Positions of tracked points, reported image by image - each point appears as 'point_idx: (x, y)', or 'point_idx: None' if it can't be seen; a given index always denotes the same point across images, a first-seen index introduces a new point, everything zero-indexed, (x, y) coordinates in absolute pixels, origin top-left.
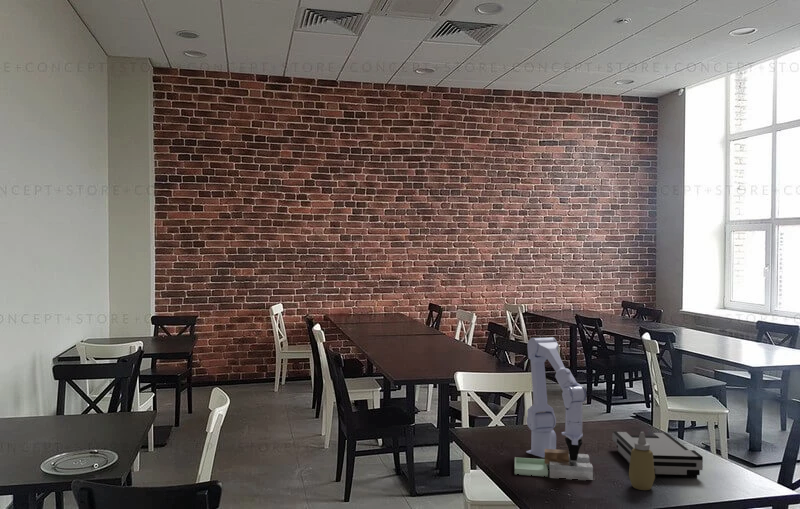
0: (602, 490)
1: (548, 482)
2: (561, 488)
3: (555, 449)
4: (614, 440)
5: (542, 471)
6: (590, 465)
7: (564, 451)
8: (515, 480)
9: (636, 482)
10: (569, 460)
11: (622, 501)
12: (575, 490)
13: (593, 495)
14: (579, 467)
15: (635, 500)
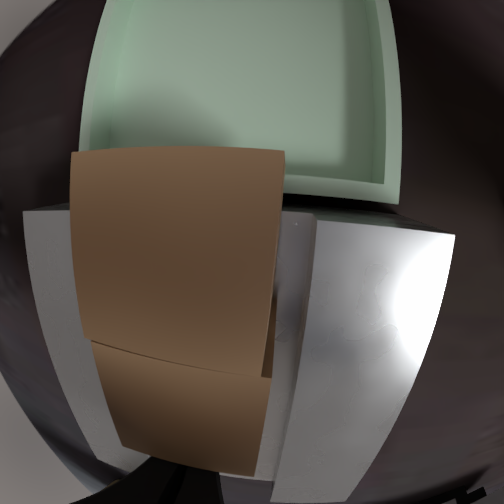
0: (55, 399)
1: (37, 189)
2: (5, 250)
3: (259, 363)
4: (491, 498)
5: (83, 146)
6: (123, 465)
7: (185, 441)
8: (56, 28)
9: (101, 490)
10: (287, 406)
11: (21, 405)
12: (11, 305)
13: (9, 351)
14: (74, 408)
15: (44, 435)
